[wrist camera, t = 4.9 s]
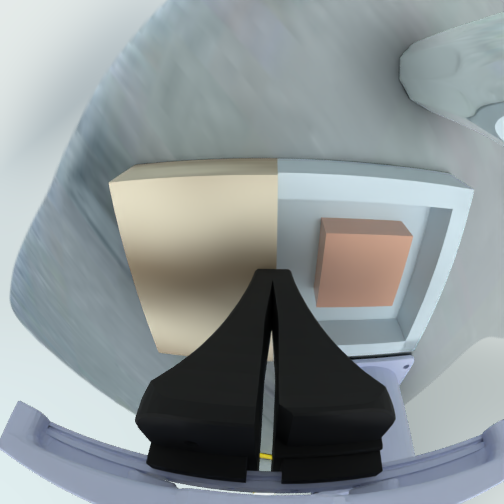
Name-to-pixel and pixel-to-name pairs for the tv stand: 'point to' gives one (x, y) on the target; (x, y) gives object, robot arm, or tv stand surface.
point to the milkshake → (461, 75)
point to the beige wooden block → (196, 241)
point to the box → (378, 208)
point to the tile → (360, 262)
